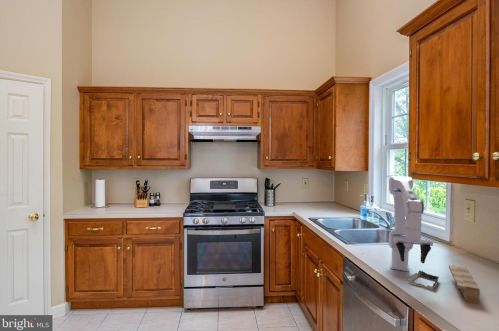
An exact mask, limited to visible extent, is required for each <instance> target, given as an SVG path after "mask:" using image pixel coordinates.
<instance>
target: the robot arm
mask: <svg viewBox="0 0 499 331" xmlns="http://www.w3.org/2000/svg"><path fill="white" fill-rule="evenodd" d="M413 187H414V180H413V177H411V176H393V175H392V176H390V177H389V179H388V191H389V194H390V195H392V196H393V206H394V207H393V210H394V213H393V214H394V228H393V229H392V230H390V231H389V233H388V246H389V248H391V261H390V264H389V265H390V267H389V268H390V269H391V270H392V269H393V270H398V271H402V272H410V265H409V256H410V255H409V252H410V251H411V250H412V249H413V248H414V245H418V246H420V263H422V264H425V262H426V259H427V257H428V254H429V252H430V251H431V250H432V247H434V241H433V240H431V239H430V240H428V239H422V215H423V214H424V211H425V203H424V200H422V199H419V198H418V195H417V193H416V192H415V191H414V190H412V189H413Z"/></svg>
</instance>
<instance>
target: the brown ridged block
mask: <svg viewBox="0 0 499 331" xmlns="http://www.w3.org/2000/svg"><path fill="white" fill-rule="evenodd" d="M448 269H449V270H450V274H451V275H452V278H453V279H454V281H455V285H456V286H457V288H458V289H459V290H460V292H461V294H462V296H463V299H464V300H465V302H466V303H472V304H478V305H479V304H480V294H481V292H480V291H481V289H480V287H479V286H478V284H477V282H476V280H475V279H474V277H473V275H472V274H471V273H470V271H469V269H468V268H467V267H462V266H457V265H456V266H455V265H450V264H449V265H448Z"/></svg>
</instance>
